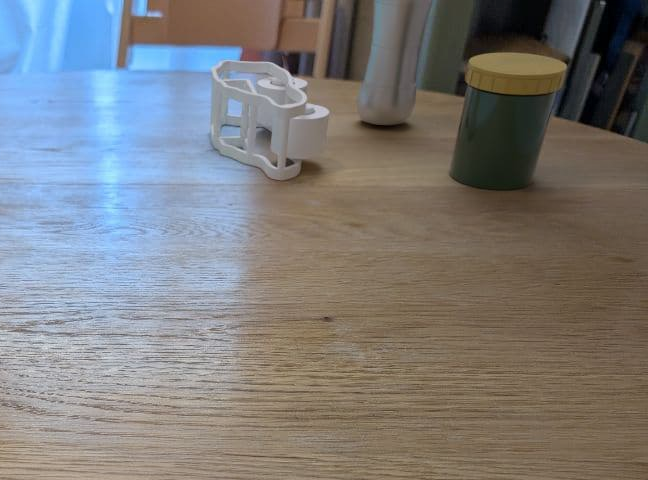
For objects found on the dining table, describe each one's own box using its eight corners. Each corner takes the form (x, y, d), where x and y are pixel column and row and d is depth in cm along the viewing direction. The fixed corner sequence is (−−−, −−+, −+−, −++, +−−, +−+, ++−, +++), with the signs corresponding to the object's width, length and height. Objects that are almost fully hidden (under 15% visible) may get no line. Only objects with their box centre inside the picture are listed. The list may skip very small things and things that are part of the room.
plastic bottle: (343, 119, 104) (368, -68, 92) (392, 112, 105) (422, -72, 94) (372, 134, 99) (402, -61, 87) (423, 127, 100) (459, -65, 89)
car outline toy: (331, 179, 87) (340, 106, 83) (224, 182, 87) (228, 109, 83) (294, 120, 104) (300, 57, 99) (204, 123, 104) (206, 60, 99)
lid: (559, 74, 83) (564, 55, 82) (564, 98, 77) (570, 77, 76) (465, 69, 86) (469, 50, 85) (463, 91, 80) (467, 71, 78)
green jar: (531, 166, 89) (559, 61, 83) (534, 193, 83) (564, 82, 76) (450, 159, 91) (472, 56, 85) (447, 185, 85) (470, 76, 79)
